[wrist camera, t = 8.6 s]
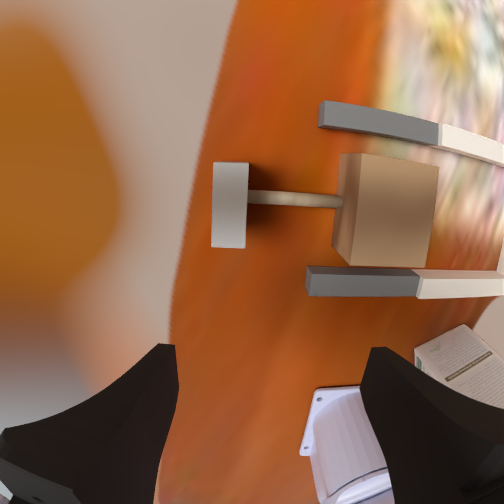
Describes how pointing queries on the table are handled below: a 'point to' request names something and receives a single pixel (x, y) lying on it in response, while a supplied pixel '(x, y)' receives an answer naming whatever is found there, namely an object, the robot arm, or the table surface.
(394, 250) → the lopsided dumbbell
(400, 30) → the table surface
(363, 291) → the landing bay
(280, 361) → the table surface
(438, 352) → the syrup box
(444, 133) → the frame
